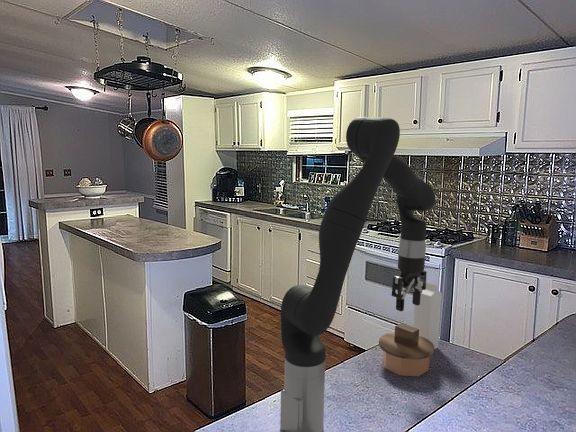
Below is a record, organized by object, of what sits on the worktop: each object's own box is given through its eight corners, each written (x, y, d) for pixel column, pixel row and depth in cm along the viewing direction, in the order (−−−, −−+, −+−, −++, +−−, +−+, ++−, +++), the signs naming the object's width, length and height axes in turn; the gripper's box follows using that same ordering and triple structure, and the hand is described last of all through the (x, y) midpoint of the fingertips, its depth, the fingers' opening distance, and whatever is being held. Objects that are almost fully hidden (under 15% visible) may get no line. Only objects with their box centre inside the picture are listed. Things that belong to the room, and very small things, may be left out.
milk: (427, 352, 138) (431, 287, 134) (411, 345, 143) (415, 282, 139) (438, 347, 141) (442, 283, 138) (422, 341, 146) (426, 279, 143)
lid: (414, 364, 117) (415, 344, 116) (367, 344, 129) (368, 325, 128) (444, 348, 128) (445, 329, 127) (398, 331, 139) (399, 313, 139)
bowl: (411, 380, 120) (412, 360, 120) (375, 363, 130) (376, 345, 129) (435, 366, 129) (436, 347, 128) (399, 351, 138) (400, 334, 137)
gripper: (409, 260, 117) (405, 316, 119) (436, 253, 126) (432, 306, 129) (386, 254, 123) (383, 309, 125) (414, 248, 132) (410, 299, 134)
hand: (408, 307), depth 127 cm, fingers open, 8 cm apart
